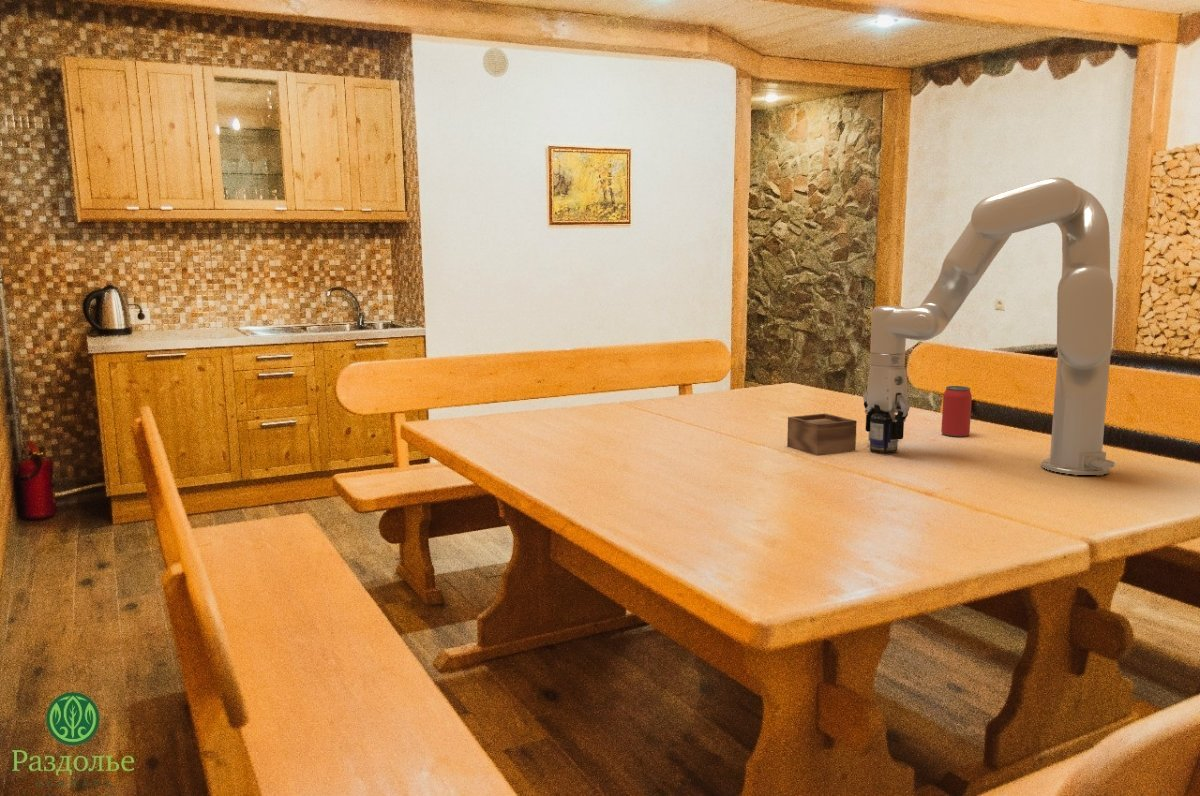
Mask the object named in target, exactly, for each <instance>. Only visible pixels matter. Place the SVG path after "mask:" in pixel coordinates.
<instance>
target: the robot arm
mask: <svg viewBox="0 0 1200 796" xmlns="http://www.w3.org/2000/svg"><path fill="white" fill-rule="evenodd" d="M1052 223H1053V224H1056V226H1058V228H1059V229H1060V233H1061V243H1062V244H1061V254H1062V257H1061V259H1062V263H1061V264H1062V265H1061V278H1060V280H1059V282H1058V286H1057V293H1056V296H1057V297H1056V301H1057V302H1056V305H1057V307H1056V313H1057V314H1056V350H1057V361H1056V374H1055V389H1054V396H1053V397H1054V399H1053V410H1052V411H1053V412H1052V422H1051V423H1052V426H1051V427H1052V428H1051V439H1050V450H1049V451H1050V452H1049V457H1048V458H1044V459H1042V460H1041V462H1040V463H1041V464H1040V466H1042V467H1041V468H1042V469H1044V468H1045V469H1044V470H1046V469H1047V470H1046V471H1049V470H1051V471H1050V472H1052V471H1055V472H1054V473H1056V472H1060V473H1059V474H1061V473H1067V474H1066V475H1068V474H1077V475H1101V476H1104V475H1103V474H1106V475H1108V474H1109V473H1110V469H1112V468H1114V467H1115V461H1114V460H1109V459H1106V458H1107V452H1106V451H1103V446H1104V437H1105V436H1104V435H1105V433H1104V432H1105V423H1106V408H1107V398H1108V389H1109V378H1110V367H1111V354H1112V347H1113V322H1114V321H1113V319H1114V318H1113V317H1114V316H1113V314H1114V313H1113V312H1114V310H1113V308H1114V283H1113V280H1112V277H1111V239H1110V238H1111V237H1110V224H1109V217H1108V216H1107V212H1106V210H1105V207H1104V206H1103V205H1102V204H1101V202H1100V201H1099V200H1098V199H1097V198H1096V196H1095V195H1094V194H1092V193H1090V192H1089V191H1088V190H1086V189H1084V188H1082V187H1081V186H1078V185H1076V184H1075V183H1074V182H1073V181H1071V180H1069V179H1068V178H1063V177H1051V178H1046V179H1043V180H1041V181H1037V182H1033V183H1031V184H1027V185H1024V186H1021V187H1018V188H1014V189H1011V190H1009V191H1004V192H1001V193H997V194H993V195H990V196H987V197H985V198H983V199H981V200H980V201H979V202H977V204H976V205H975V206H974V208H973V210H972V212H971V218H970V221H969V222H968V224H967V225H966V226H965V228H964V230H963V231H962V233H961V234H960V235H959V237H958V238H957V239H956V241H955V243H954V244H953V245H952V247H951V249H950V250H949V252H947V255H946V256H945V258H944V260H943V262H942V265H941V270H940V273H939V275H938V277H937V279H936V281H935V283H934V284H933V286H932V288H931V289H930V290H929V292H928V294H927V295H926V297H925V298H924V300H922V302H921V303H920V305H919V306H915V307H913V306H912V307H904V306H900V305H878V306H875V307H874V308H873V309H872V312H871V329H870V353H869V371H868V377H867V386H866V391H864V392H863V393H862V400H863V406H864V409H865V410H864V413H865V431H866V432H868V433H869V432H870V422H871V416H872V414H874V413H875V410H874V404H876V405H879V406H880V410H882V411H884V412H889V414H890V417H891V419H892V422H890V434H889V438H890V439H891V440H897V439H898V440H903V439H904V429H905V422H906V419H907V417H908V416H909V412H910V411H909V410H910V408H911V405H910V403H909V401H908V400H909V399H908V398H909V397H908V377H907V370H906V368H905V364H906V363H905V362H906V339H909V340H913V341H923V342H925V341H929V340H931V339H934V338H935V337H937V336H939V335H940V334H941V333H942V332H944V330H945V329H946V327H948V325H949V324H950V322H951V321H952V320H953V318H954V316H956V314H957V312H958V311H959V310H960V309H961V306H962V305H963V304H964V302H965V301H966V299H967V298H968V296H969V294H970V293H971V292H972V291H973V289H974V288H975V287H976V286H977V285H978V283H979V282H980V280H981V278H982V276H983V275H984V274H985V272H986V271H987V270H988V268H989V267H990V265H991V264H992V262H993V260H994V259H995V258H996V257H997V256H998V254H999V252H1000V251H1001V250H1002V249H1003V247H1004V246H1005V244H1006V243H1007V242H1008V240H1009V239H1010V237H1011V236H1012V235H1013V234H1016V233H1021V232H1023V231H1026V230H1031V229H1033V228H1037V227H1040V226H1041V227H1042V226H1044V225H1048V224H1052ZM895 414H896V415H895ZM1107 473H1108V474H1107ZM1077 475H1076V476H1077Z"/></svg>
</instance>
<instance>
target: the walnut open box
mask: <svg viewBox="0 0 1200 796" xmlns="http://www.w3.org/2000/svg"><path fill="white" fill-rule="evenodd" d="M857 422H858V421H857V420H855V419H850V418H847V417H842V416H838V415H833V414H829V413H815V414H806V415H796V416H788V417H787V439H786V440H787V444H786V446H787V447H789V448H792V449H796V450H799V451H802V452H805V453H809V454H812V455H815V456H822V455H830V454H839V453H846V452H847V453H848V452H855V451H856V447H857V446H856V443H857Z"/></svg>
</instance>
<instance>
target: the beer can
mask: <svg viewBox="0 0 1200 796" xmlns="http://www.w3.org/2000/svg"><path fill="white" fill-rule="evenodd" d="M970 389H971V387H968V386H964V385H962V386H961V385H950V386H949V385H948V386H946V387H945V390H944V392H943V395H942V410H941V411H942V413H941V429H940V430H941V433H942V435H943V436H946V437H951V436H952V438H953V437H954V438H965V437H968V436H969V435H970V433H971V432H970V431H971V417H972V415H971V413H972V400H973V398H972V397H973V396H972V392H971V390H970Z"/></svg>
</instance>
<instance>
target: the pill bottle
mask: <svg viewBox="0 0 1200 796" xmlns="http://www.w3.org/2000/svg"><path fill="white" fill-rule="evenodd" d="M874 410H875V413H874V414H872V416H871V422H870V441H869V451H871V452H872V453H876V454H879V455H881V454H882V455H883V454H884V455H885V454H886V455H887V454H888V455H890V454H896V453H897V452H898V445H899V444H898V443H899V442H898V441H899V439H897V440H891V439H890V438H889V434H890V422H892V419H891V417H890V414H889V412H884V411H882V410H880V406H879V405H876V404H874ZM895 415H897V413H895Z"/></svg>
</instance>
